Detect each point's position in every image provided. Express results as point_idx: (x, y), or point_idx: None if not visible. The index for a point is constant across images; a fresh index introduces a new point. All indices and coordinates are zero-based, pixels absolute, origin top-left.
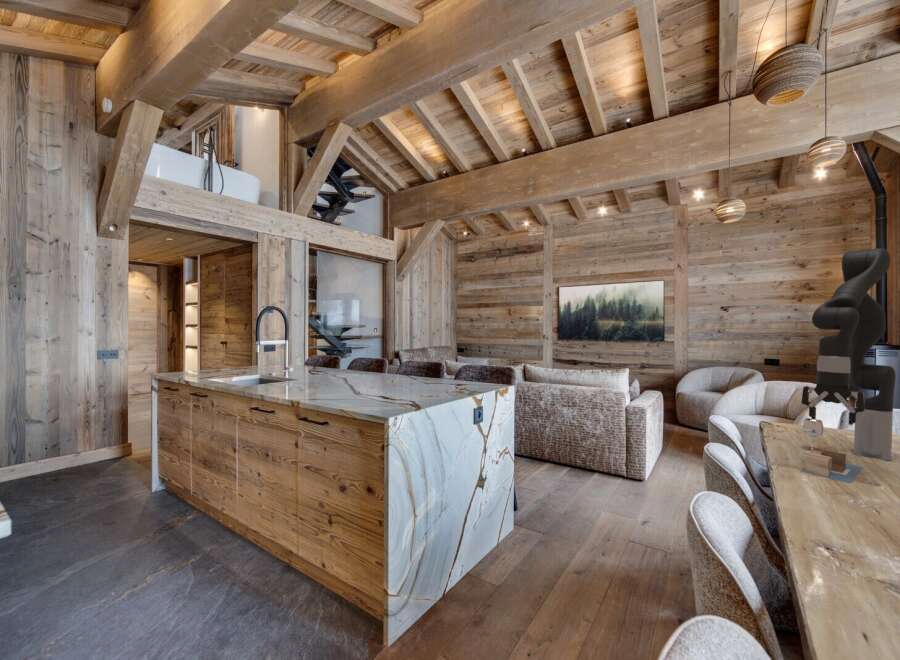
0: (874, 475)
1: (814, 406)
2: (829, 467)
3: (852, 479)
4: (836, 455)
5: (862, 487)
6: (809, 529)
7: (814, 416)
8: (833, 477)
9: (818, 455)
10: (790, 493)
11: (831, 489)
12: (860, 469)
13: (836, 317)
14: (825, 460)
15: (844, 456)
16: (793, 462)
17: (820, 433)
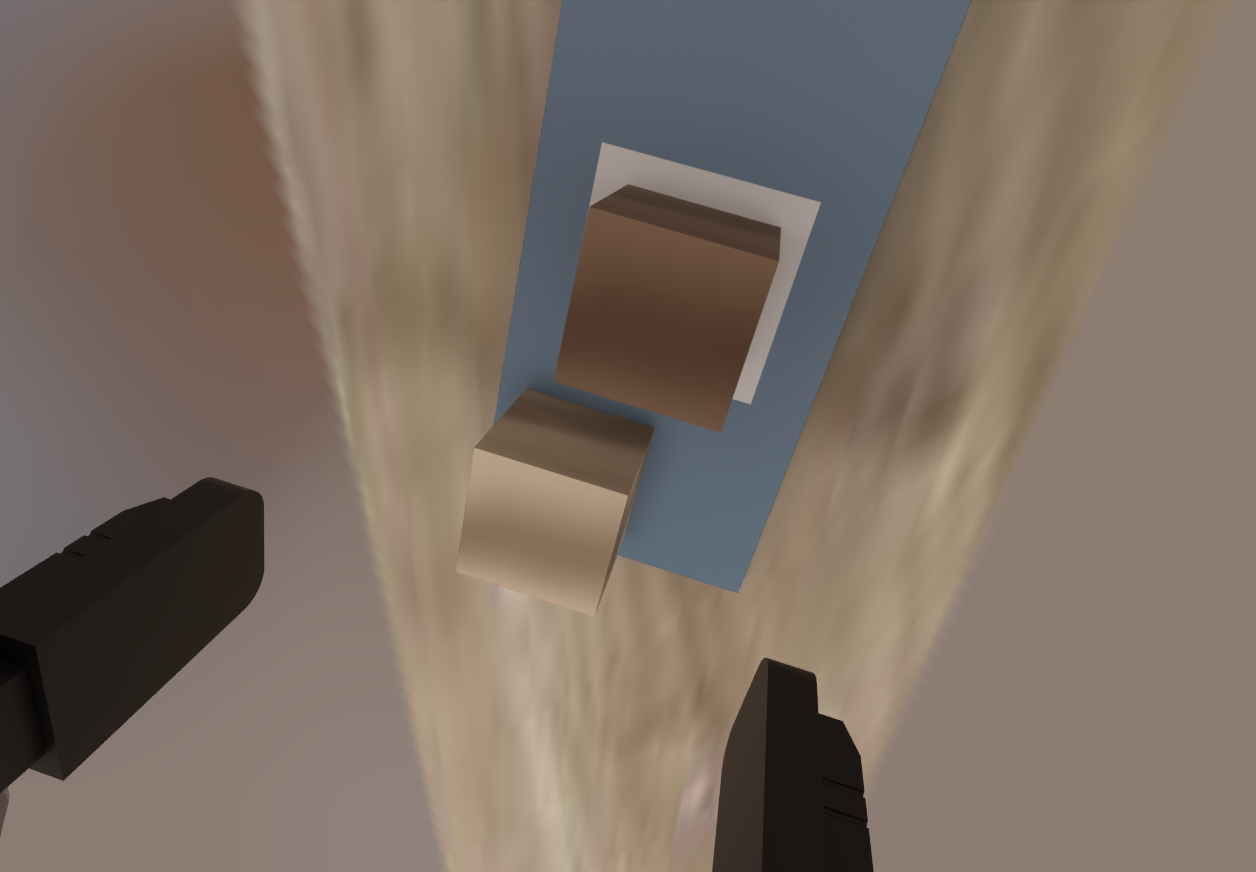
0: (1041, 81)
1: (4, 758)
2: (625, 520)
3: (770, 499)
4: (674, 403)
5: (810, 549)
6: None
7: (223, 611)
8: (657, 528)
9: (534, 500)
10: (473, 818)
11: (633, 682)
12: (935, 70)
13: None
14: (579, 609)
15: (749, 345)
16: (421, 148)
17: None
